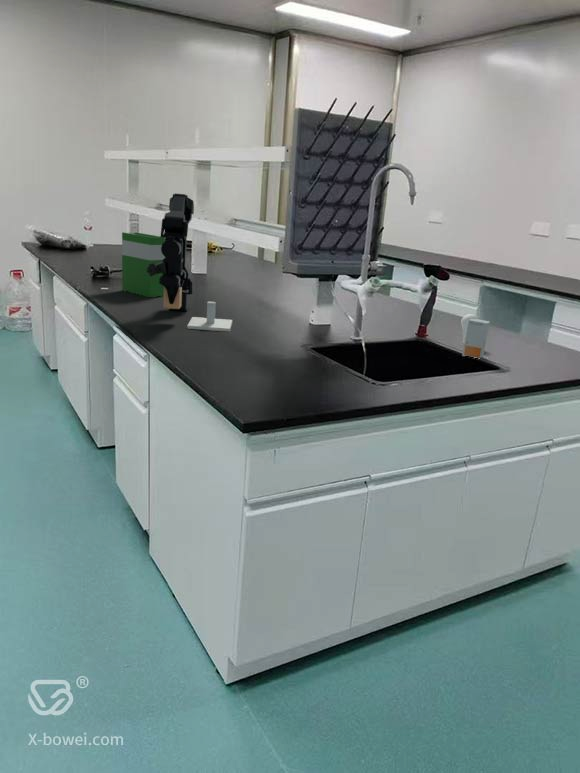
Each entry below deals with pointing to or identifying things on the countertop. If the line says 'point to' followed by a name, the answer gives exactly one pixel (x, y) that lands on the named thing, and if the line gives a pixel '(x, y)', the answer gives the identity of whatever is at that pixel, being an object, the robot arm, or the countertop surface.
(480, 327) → the skincare box
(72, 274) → the countertop surface
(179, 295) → the tan wooden brick
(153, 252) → the hardback book
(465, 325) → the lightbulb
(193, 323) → the post stand
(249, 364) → the countertop surface
